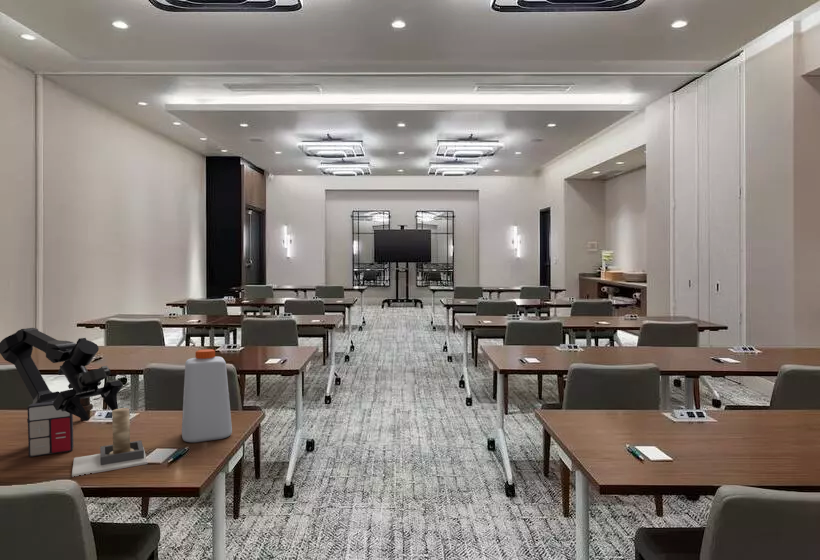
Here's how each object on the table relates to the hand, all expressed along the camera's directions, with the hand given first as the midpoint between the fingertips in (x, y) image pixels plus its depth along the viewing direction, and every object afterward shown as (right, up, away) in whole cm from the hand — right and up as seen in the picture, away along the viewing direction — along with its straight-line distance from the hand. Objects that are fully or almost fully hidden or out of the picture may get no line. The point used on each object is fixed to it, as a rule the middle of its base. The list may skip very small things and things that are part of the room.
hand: (103, 416), depth 159 cm
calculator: (-17, -12, +2) cm, 21 cm away
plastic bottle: (+24, -11, +18) cm, 32 cm away
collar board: (+6, -11, -6) cm, 14 cm away
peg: (+7, -11, -3) cm, 13 cm away
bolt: (-28, -11, +38) cm, 49 cm away
